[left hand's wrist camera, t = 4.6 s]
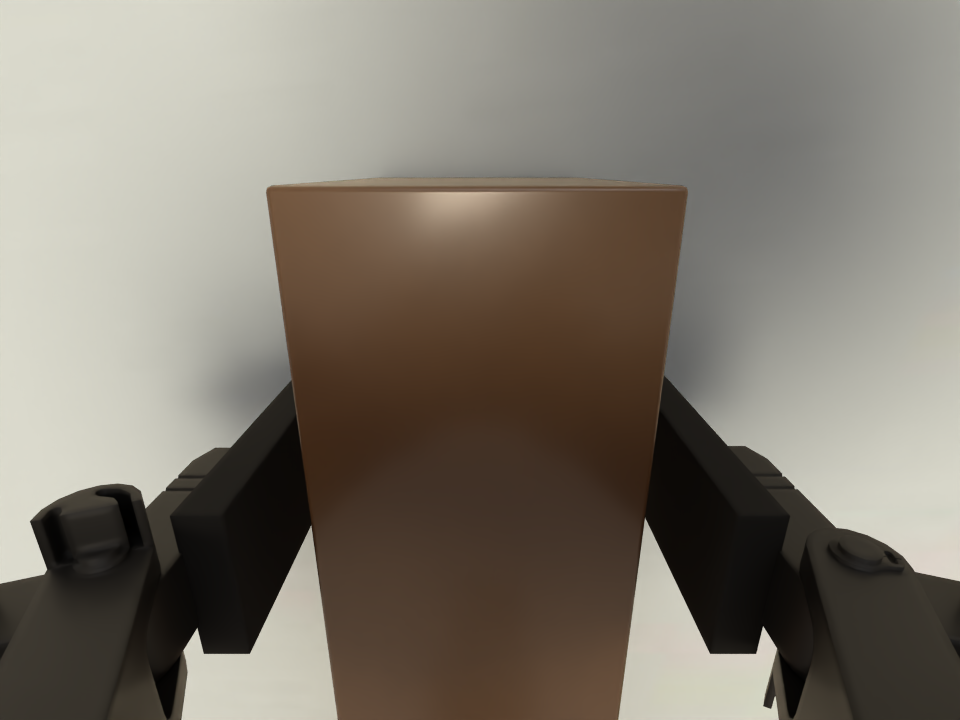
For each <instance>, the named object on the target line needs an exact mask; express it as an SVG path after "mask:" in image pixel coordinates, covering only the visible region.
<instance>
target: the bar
mask: <svg viewBox="0 0 960 720" xmlns="http://www.w3.org/2000/svg"><path fill="white" fill-rule="evenodd" d="M266 194H267V201H268V209H269V216H270V224H271V231H272V238H273V246H274V253H275V260H276V268H277V275H278V282H279V290H280V297H281V304H282V312H283V319H284V327H285V334H286V341H287V349H288V356H289V363H290V371H291V378H292V385H293V393H294V400H295V407H296V415H297V422H298V429H299V437H300V444H301V452H302V459H303V466H304V474H305V481H306V488H307V496H308V503H309V510H310V518H311V525H312V532H313V540H314V547H315V555H316V562H317V569H318V577H319V584H320V591H321V599H322V606H323V613H324V621H325V628H326V635H327V643H328V650H329V658H330V665H331V672H332V680H333V687H334V694H335V702H336V709H337V716H338V720H618V717H619V710H620V702H621V694H622V687H623V679H624V672H625V664H626V657H627V649H628V642H629V634H630V626H631V619H632V611H633V604H634V596H635V589H636V581H637V574H638V566H639V558H640V551H641V543H642V536H643V528H644V521H645V513H646V506H647V498H648V490H649V483H650V475H651V468H652V460H653V453H654V445H655V438H656V430H657V422H658V415H659V407H660V400H661V392H662V385H663V377H664V370H665V362H666V354H667V347H668V339H669V332H670V324H671V317H672V309H673V302H674V294H675V286H676V279H677V271H678V264H679V256H680V249H681V241H682V234H683V226H684V218H685V211H686V203H687V196H688V190H687V188H686V187H684V186H681V185H668V184H654V183H641V182H628V181H615V180H601V179H588V178H369V179H355V180H342V181H328V182H314V183H300V184H287V185H273V186H270V187H268V188H267V191H266Z"/></svg>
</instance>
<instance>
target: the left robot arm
mask: <svg viewBox="0 0 960 720" xmlns="http://www.w3.org/2000/svg"><path fill="white" fill-rule="evenodd" d="M645 518H646V520H647V522H648V524H649V526H650V529H651V531H652V533H653V535H654V537H655V539H656V541H657V543H658V545H659V547H660V550H661V552H662V554H663V556H664V558H665V560H666V562H667V564H668V566H669V568H670V571H671V573H672V575H673V577H674V579H675V581H676V583H677V585H678V587H679V589H680V591H681V594H682V596H683V598H684V600H685V602H686V604H687V606H688V608H689V610H690V612H691V615H692V617H693V619H694V621H695V623H696V625H697V627H698V629H699V631H700V633H701V636H702V638H703V640H704V642H705V644H706V646H707V648H708V650H709V652H710V654H756V652H757V648H758V644H759V640H760V636H761V632H762V628H763V626H764V628H765V629H766V631H767V633H768V634H769V636H770V638H771V639H772V641H773V642H774V644H775V646H776V647H777V652H776V656H775V659H774V663H773V667H772V671H771V674H770V678H769V682H768V686H767V689H766V693H765V699H764V705H763V706H764V707H767V708H770V709H771V707H772V704H773V700H774V697H775V696H776V701H777V709H778V716H779V720H960V581H955V580H950V579H946V578H941V577H936V576H931V575H926V574H921V573H917V572H914V570H913V568H912V567H911V566H910V565H909V563H908V562H907V561H906V560H905V559H904V557H903V556H902V555H900V554H899V553H897V552H896V551H895V550H893V549H892V548H890V547H889V546H888V545H886V544H884V543H882V542H880V541H878V540H876V539H874V538H872V537H870V536H868V535H864V534H861V533H858V532H854V531H851V530H848V529H839V528H836V527H835V526H834V525H833V524H832V523H831V522H830V521H829V520H828V519H827V518H826V517H825V516H824V515H823V514H822V513H821V512H820V511H819V510H818V509H817V508H816V507H815V506H814V505H813V504H812V503H811V502H810V501H809V500H808V499H807V498H806V497H805V496H804V495H803V494H802V493H801V492H800V491H799V490H798V489H795V488H794V485H793V484H792V483H791V482H790V481H789V480H788V479H787V478H786V477H782V473H781V472H780V471H779V470H778V469H777V468H776V467H775V466H774V465H773V464H772V463H771V462H770V461H769V460H768V459H767V458H765V457H763V456H761V455H760V454H758V453H756V452H754V451H753V450H751V449H749V448H747V447H746V446H727V445H726V444H725V443H724V441H723V440H722V439H721V438H720V437H719V436H718V435H717V434H716V433H715V431H714V430H713V429H712V428H711V427H710V426H709V425H708V424H707V423H706V421H705V420H704V419H703V418H702V417H701V416H700V415H699V414H698V413H697V411H696V410H695V409H694V408H693V407H692V406H691V405H690V404H689V402H688V401H687V400H686V399H685V398H684V397H683V396H682V395H681V394H680V392H679V391H678V390H677V389H676V388H675V387H674V386H673V385H672V384H671V382H670V381H669V380H668V379H667V378H666V377H665V376H664V377H663V385H662V392H661V400H660V407H659V415H658V422H657V430H656V438H655V445H654V453H653V460H652V468H651V475H650V483H649V490H648V498H647V506H646V513H645ZM30 523H31V526H32V528H33V531H34V534H35V537H36V539H37V542H38V545H39V548H40V550H41V553H42V556H43V559H44V561H45V564H46V567H47V571H46V573H45V575H41V576H36V577H31V578H26V579H21V580H17V581H12V582H7V583H2V584H0V720H181V718H182V710H183V703H184V695H185V688H186V680H187V673H188V672H187V665H186V659H185V656H184V652H183V650H184V648H185V647H186V645H187V644H188V642H189V640H190V639H191V637H192V635H193V634H194V632H195V631H196V629H197V628H198V632H199V636H200V640H201V644H202V648H203V652H204V654H250V652H251V650H252V648H253V646H254V644H255V642H256V640H257V638H258V636H259V634H260V631H261V629H262V627H263V625H264V623H265V621H266V619H267V617H268V615H269V613H270V610H271V608H272V606H273V604H274V602H275V600H276V598H277V596H278V594H279V592H280V589H281V587H282V585H283V583H284V581H285V579H286V577H287V575H288V573H289V571H290V568H291V566H292V564H293V562H294V560H295V558H296V556H297V554H298V552H299V550H300V547H301V545H302V543H303V541H304V539H305V537H306V535H307V533H308V531H309V529H310V526H311V518H310V510H309V503H308V496H307V488H306V481H305V474H304V466H303V459H302V452H301V444H300V437H299V429H298V422H297V415H296V407H295V400H294V393H293V385H292V380H291V381H290V382H289V384H288V385H287V386H286V387H285V388H284V389H283V390H282V391H281V392H280V394H279V395H278V396H277V397H276V398H275V399H274V400H273V401H272V402H271V404H270V405H269V406H268V407H267V408H266V409H265V410H264V411H263V413H262V414H261V415H260V416H259V417H258V418H257V419H256V420H255V421H254V423H253V424H252V425H251V426H250V427H249V428H248V429H247V430H246V431H245V433H244V434H243V435H242V436H241V437H240V438H239V439H238V440H237V441H236V443H235V444H234V445H233V446H232V447H231V448H214V449H213V450H211V451H209V452H207V453H206V454H204V455H202V456H200V457H199V458H197V459H195V460H193V461H192V462H191V463H190V464H189V465H188V466H187V467H186V468H185V469H184V470H183V471H182V472H181V473H180V474H179V475H178V479H175V480H174V481H173V482H172V483H171V484H170V485H169V486H168V487H167V488H166V491H163V492H162V493H161V494H160V495H159V496H158V497H157V498H156V499H155V500H154V501H153V502H152V503H151V504H150V505H149V506H148V507H147V508H146V509H145V505H144V502H143V498H142V494H141V491H140V490H138V489H137V488H135V487H134V486H132V485H125V484H110V485H100V486H96V487H92V488H88V489H84V490H80V491H77V492H75V493H73V494H70V495H68V496H65V497H63V498H61V499H58V500H57V501H55V502H53V503H52V504H50V505H48V506H47V507H45V508H44V509H42V510H41V511H40V512H39V513H38V514H37V515H36V516H35V517H34V518H33V519H32V520H31V521H30Z"/></svg>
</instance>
